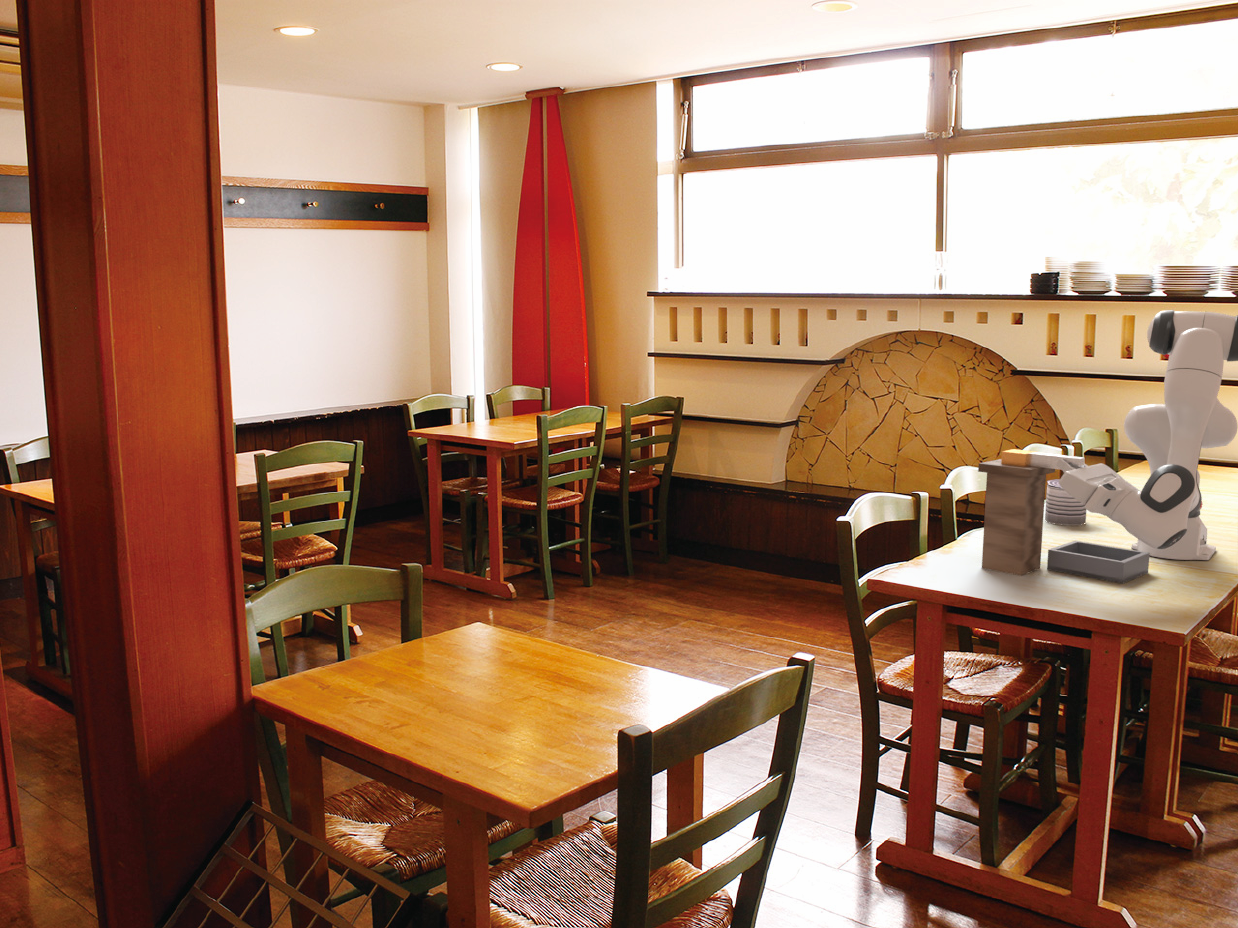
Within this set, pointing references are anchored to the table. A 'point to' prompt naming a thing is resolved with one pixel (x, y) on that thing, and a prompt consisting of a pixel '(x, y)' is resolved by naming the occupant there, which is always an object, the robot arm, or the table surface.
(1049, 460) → the white and tan bar
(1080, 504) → the can
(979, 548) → the table surface
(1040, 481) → the post
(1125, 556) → the tray
